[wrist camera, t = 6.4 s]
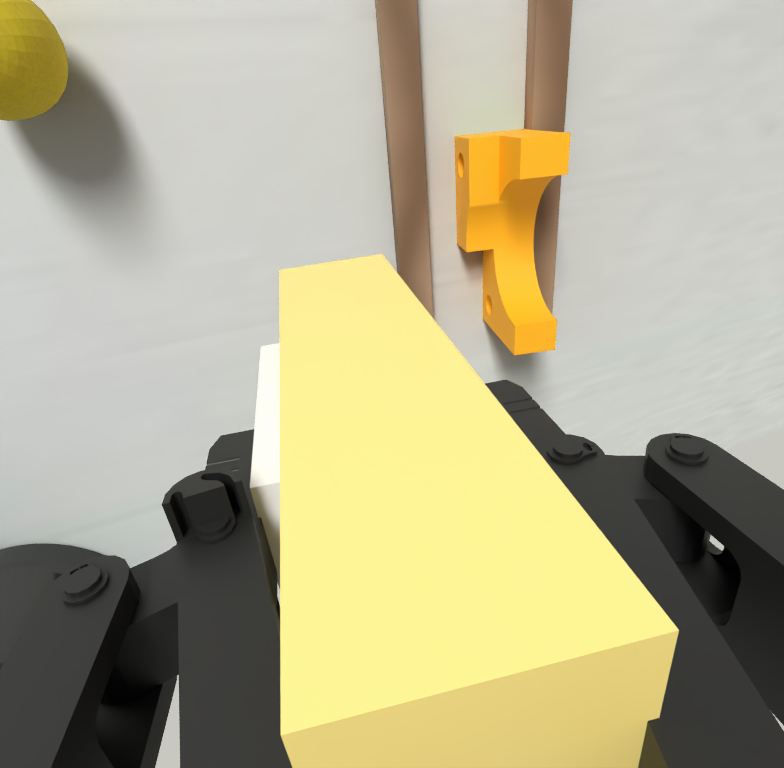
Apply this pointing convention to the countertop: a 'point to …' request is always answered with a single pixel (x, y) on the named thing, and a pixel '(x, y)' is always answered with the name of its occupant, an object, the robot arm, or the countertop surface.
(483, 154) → the pipe clamp
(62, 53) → the lemon
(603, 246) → the countertop surface
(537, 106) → the channel
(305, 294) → the yellow rectangular block
